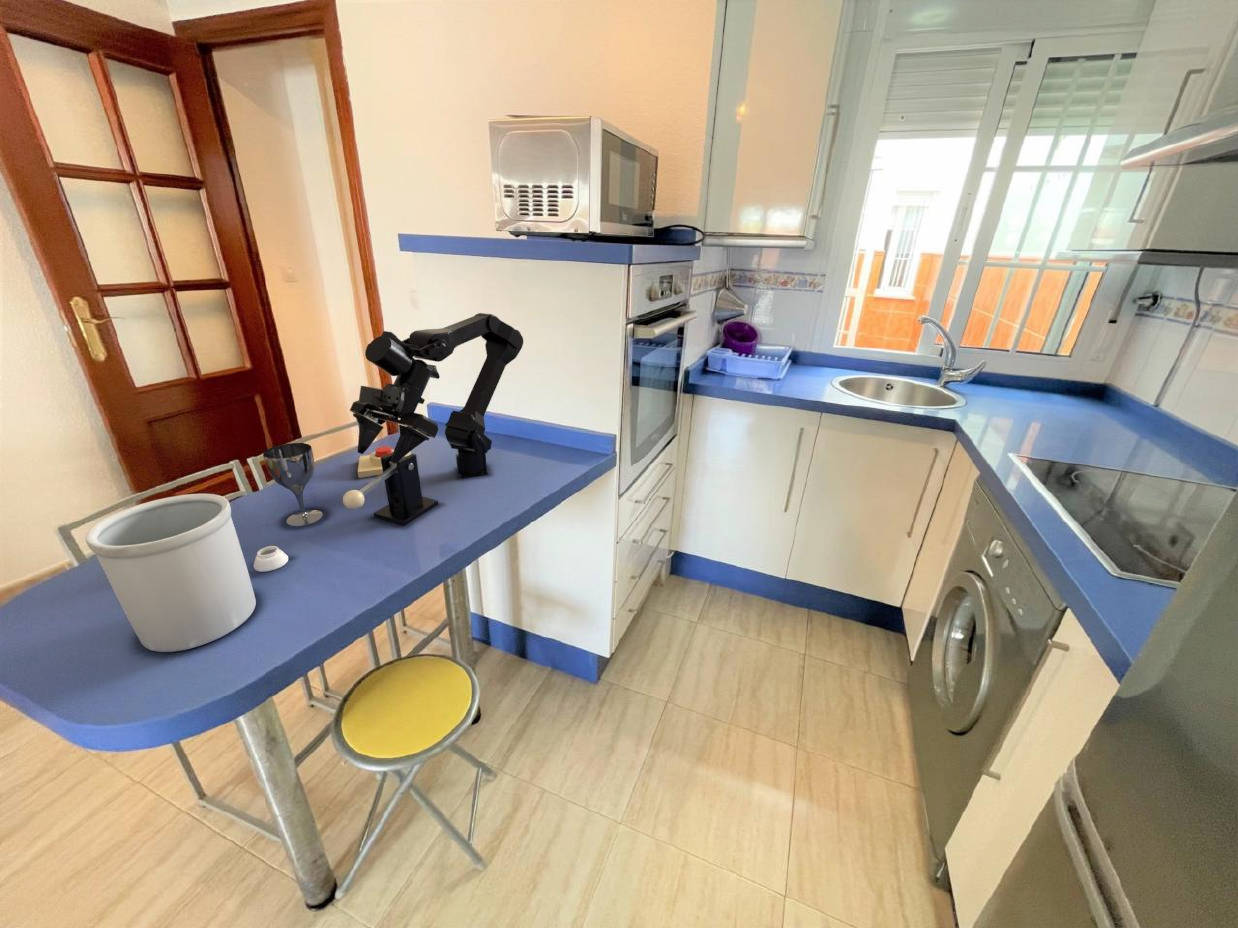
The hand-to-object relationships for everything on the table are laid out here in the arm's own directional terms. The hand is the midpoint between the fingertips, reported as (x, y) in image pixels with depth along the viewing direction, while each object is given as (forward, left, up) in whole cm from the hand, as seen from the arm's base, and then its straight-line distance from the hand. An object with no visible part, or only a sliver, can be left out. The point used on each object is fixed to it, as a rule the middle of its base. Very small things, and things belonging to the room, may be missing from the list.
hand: (376, 457), depth 98 cm
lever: (0, +3, -5) cm, 6 cm away
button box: (0, -27, -13) cm, 30 cm away
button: (0, -27, -10) cm, 29 cm away
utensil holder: (+25, +23, -14) cm, 37 cm away
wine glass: (+15, -5, -14) cm, 21 cm away
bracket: (-4, -1, -13) cm, 14 cm away
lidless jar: (+18, +11, -14) cm, 25 cm away
